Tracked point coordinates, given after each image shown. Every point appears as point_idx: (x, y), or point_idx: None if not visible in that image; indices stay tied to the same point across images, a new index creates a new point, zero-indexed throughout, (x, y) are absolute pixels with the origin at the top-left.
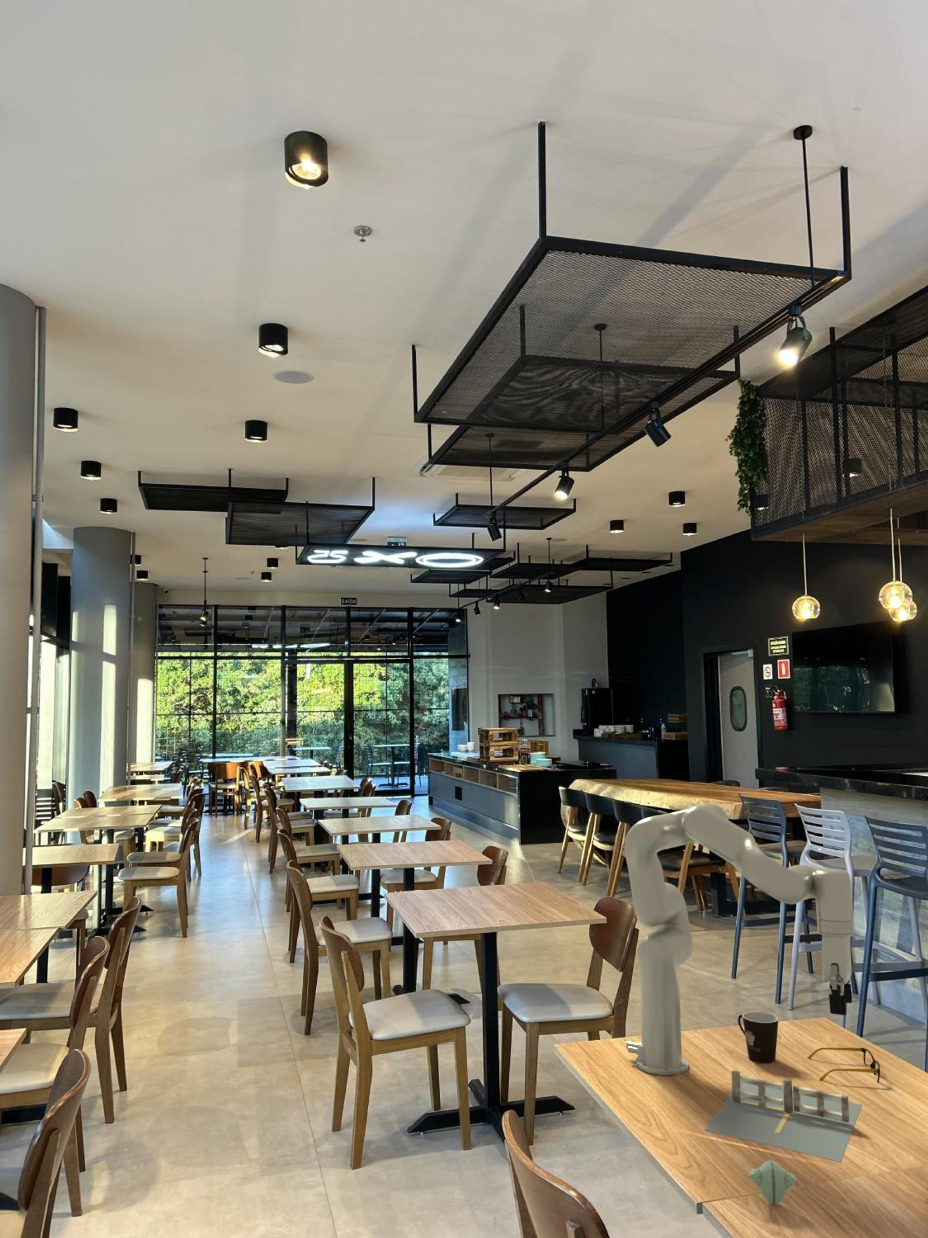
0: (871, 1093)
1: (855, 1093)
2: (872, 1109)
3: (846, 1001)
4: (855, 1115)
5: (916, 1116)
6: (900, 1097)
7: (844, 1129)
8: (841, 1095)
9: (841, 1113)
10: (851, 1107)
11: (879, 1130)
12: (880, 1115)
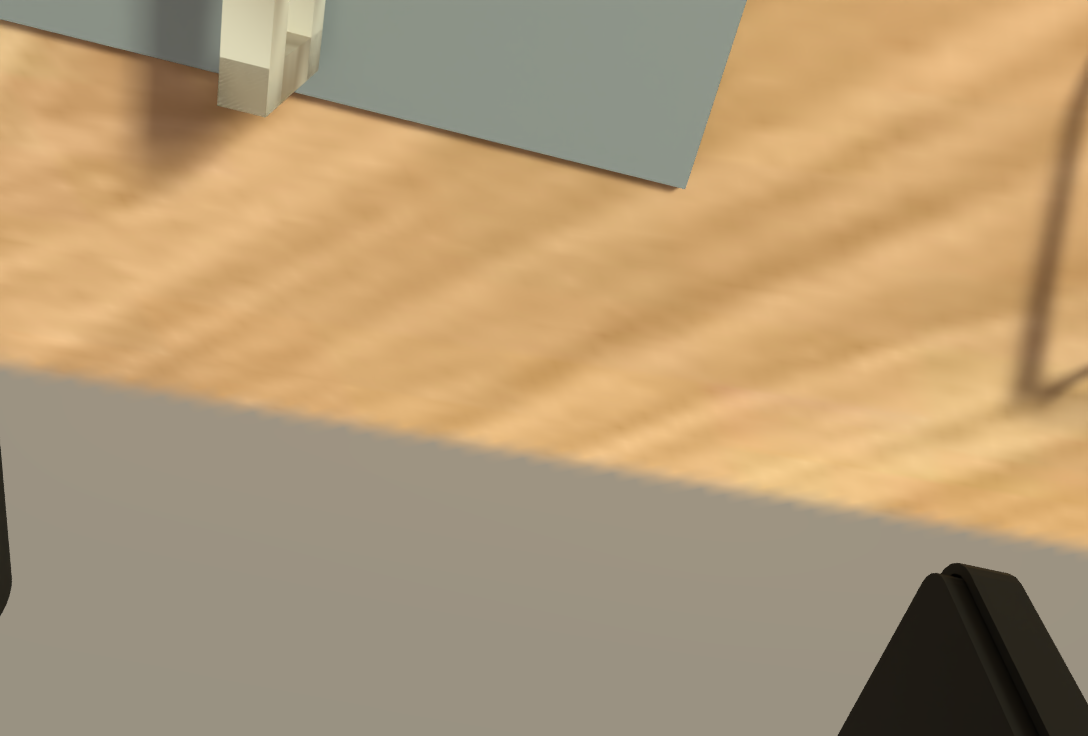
0: (948, 276)
1: (935, 172)
2: (663, 244)
3: (864, 720)
4: (479, 124)
5: (624, 456)
6: (901, 428)
7: (204, 20)
8: (251, 64)
9: (298, 27)
10: (617, 113)
11: (340, 238)
12: (578, 277)
